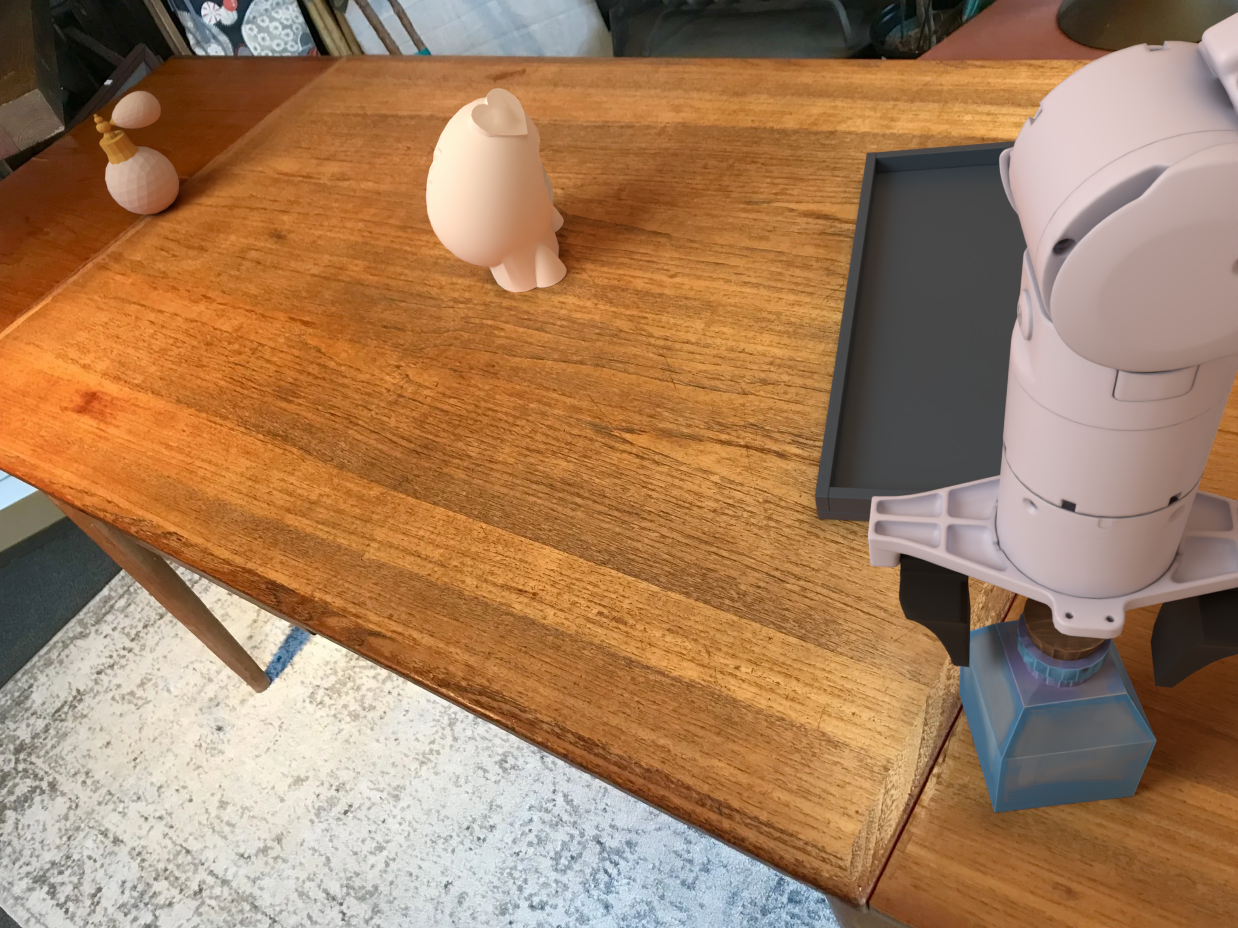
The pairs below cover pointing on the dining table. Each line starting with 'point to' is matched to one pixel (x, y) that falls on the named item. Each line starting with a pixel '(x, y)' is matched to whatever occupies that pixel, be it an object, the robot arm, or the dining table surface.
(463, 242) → the figurine
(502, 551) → the dining table surface
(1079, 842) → the dining table surface
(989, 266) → the tray
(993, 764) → the perfume bottle
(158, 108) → the perfume bottle
